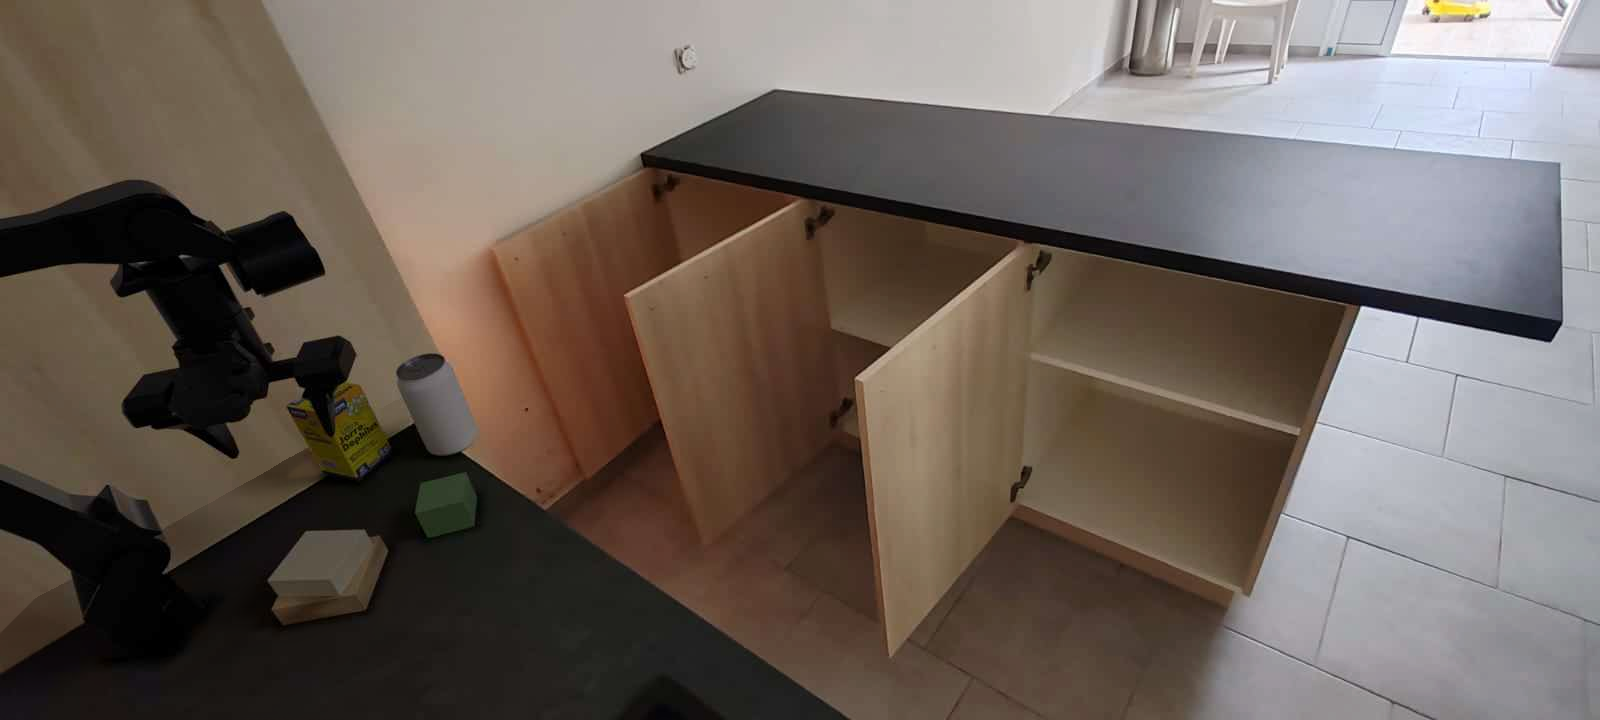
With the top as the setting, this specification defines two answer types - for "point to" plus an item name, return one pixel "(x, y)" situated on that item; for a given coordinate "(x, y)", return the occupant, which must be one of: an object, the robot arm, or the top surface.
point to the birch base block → (328, 606)
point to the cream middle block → (321, 563)
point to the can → (436, 404)
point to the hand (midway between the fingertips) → (285, 445)
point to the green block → (446, 505)
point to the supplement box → (344, 434)
